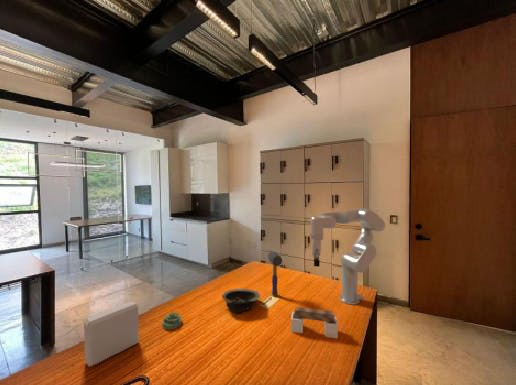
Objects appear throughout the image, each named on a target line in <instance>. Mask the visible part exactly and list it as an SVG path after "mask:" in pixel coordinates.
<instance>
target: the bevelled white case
mask: <svg viewBox="0 0 516 385" xmlns="http://www.w3.org/2000/svg"><path fill="white" fill-rule="evenodd" d="M139 323H140V322H139V305H138V304H137V303H136V302H135V301H132V300H131V301H129V302H127V303H123V304H121V305H118V306H115V307H113V308H109V309H107V310H104V311H102V312H99V313H97V314H94V315H91V316H89V317H86V319H85V320H84V321H83V331H84V332H83V335H84V339H83V340H84V361H85V363H86V365H87V366H88V367H90V366H91V365H94V364H96V365H97V363H98V364H100V363H102V362H103V360H104V361H106V360H108V359H110V358H112V357H113V355H114V356H115V354H116V355H118V354H119V353H121V352H123V351H125V350H127V349H129V348H131V347H133V346H135V345H137V344H139V342H140V331H139ZM111 356H112V357H111ZM109 357H110V358H109ZM107 358H108V359H107ZM105 359H106V360H105ZM101 361H102V362H101ZM99 362H100V363H99ZM94 366H95V365H94Z"/></svg>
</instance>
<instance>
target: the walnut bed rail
mask: <svg viewBox="0 0 516 385" xmlns="http://www.w3.org/2000/svg"><path fill="white" fill-rule="evenodd" d="M294 312H295V319H300V318H303V320H304V319H305V320H311V321H319V322H325V321H326V322H328V323H332V324H334V317H335V311H333V310H327V309H317V308H309V307H301V306H295V307H294Z"/></svg>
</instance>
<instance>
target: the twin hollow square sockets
mask: <svg viewBox="0 0 516 385" xmlns="http://www.w3.org/2000/svg"><path fill="white" fill-rule="evenodd" d="M337 318H338V317H337V316H334V324H332V323H328V322H326V321H324V333H325V334H324V335H325V337H326V338H332V339H336V340H337V339H338V338H339V336H338V335H339V324H338V319H337ZM303 331H304V319H303V318H300V319H295V311H292V312H291V317H290V332H292V333H296V334H303Z"/></svg>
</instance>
